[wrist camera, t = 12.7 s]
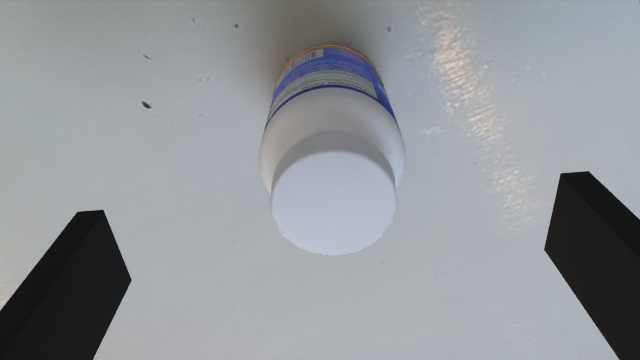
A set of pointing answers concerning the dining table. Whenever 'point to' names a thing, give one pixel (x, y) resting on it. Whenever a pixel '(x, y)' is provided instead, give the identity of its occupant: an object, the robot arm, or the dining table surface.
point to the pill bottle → (331, 152)
